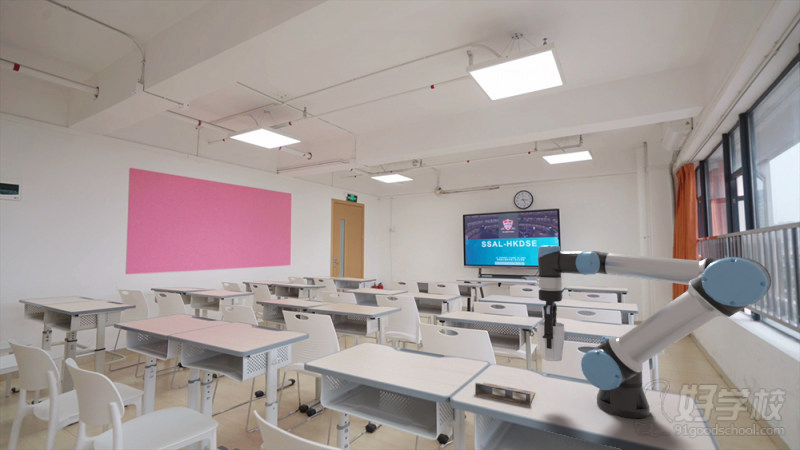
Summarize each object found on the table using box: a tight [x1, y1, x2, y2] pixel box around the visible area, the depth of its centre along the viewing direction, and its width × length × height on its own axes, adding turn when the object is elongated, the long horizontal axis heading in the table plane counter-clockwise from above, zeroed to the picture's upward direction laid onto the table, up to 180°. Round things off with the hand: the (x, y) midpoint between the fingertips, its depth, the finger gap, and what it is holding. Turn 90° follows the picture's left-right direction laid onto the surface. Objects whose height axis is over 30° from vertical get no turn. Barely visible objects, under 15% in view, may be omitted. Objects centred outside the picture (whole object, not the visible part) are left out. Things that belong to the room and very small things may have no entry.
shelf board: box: [474, 382, 536, 406], centre depth 133 cm, size 19×11×4 cm, turn 62°
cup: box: [536, 320, 566, 362], centre depth 128 cm, size 9×9×12 cm
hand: (551, 354), depth 127 cm, fingers closed on cup, 9 cm apart
